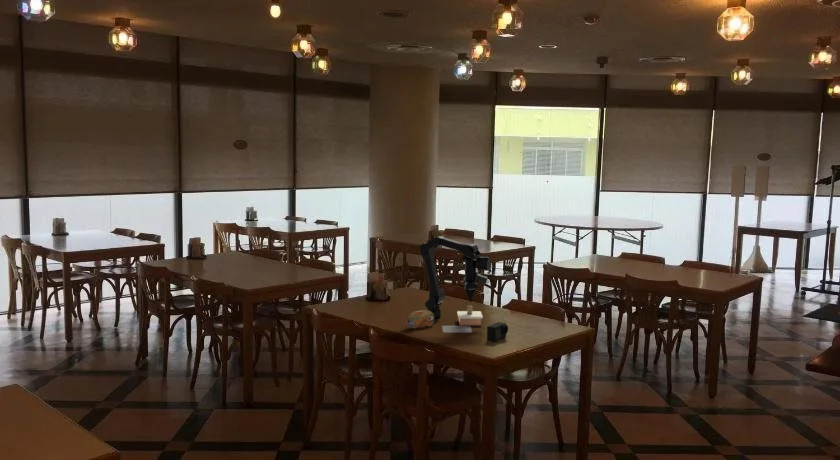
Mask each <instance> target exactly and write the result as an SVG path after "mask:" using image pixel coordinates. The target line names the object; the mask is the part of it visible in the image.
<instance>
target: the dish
mask: <svg viewBox="0 0 840 460" xmlns="http://www.w3.org/2000/svg"><path fill="white" fill-rule="evenodd" d="M458 324H459V326H481V325H482V319H458Z"/></svg>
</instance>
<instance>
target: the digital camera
mask: <svg viewBox="0 0 840 460" xmlns="http://www.w3.org/2000/svg"><path fill="white" fill-rule="evenodd" d="M508 332H509V326H508V325H507V323H506V322H500V321H497V322H495V323H492V324H489V325H488V326H486V341H489V342H490V341H493V342H492V343H497V342H498V341H500V340H502V339H505V337H506V338H507V334H508ZM496 341H497V342H496Z"/></svg>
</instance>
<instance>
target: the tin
mask: <svg viewBox="0 0 840 460" xmlns="http://www.w3.org/2000/svg"><path fill="white" fill-rule="evenodd" d="M435 320H436V319H435V317H434V314H433V313H432V312H431V311H428V310H426V309H424V310H416V311H411V312H409V313H407V315H406V316H405V323H406V326H407V327H409V328H410V329H412V328H414V329H418V328H419V327H420V328H426V326H428V327H431V326H432V325H433V324H434V323H435Z"/></svg>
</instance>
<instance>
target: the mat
mask: <svg viewBox="0 0 840 460" xmlns="http://www.w3.org/2000/svg"><path fill="white" fill-rule="evenodd" d="M471 326H472V325H441V327H442V333H451V334H452V333H453V334H454V333H456V334H457V333H459V334H460V333H465V334H466V333H473V330H472V327H471Z"/></svg>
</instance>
